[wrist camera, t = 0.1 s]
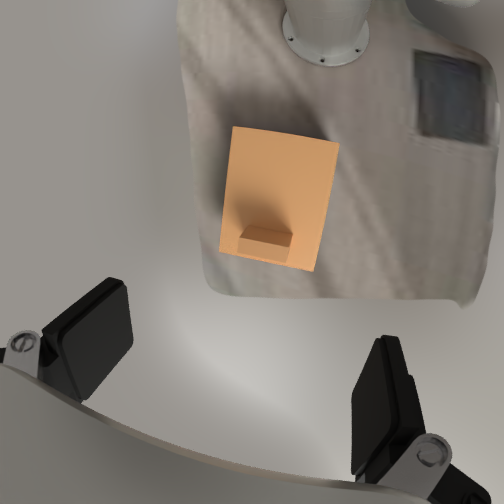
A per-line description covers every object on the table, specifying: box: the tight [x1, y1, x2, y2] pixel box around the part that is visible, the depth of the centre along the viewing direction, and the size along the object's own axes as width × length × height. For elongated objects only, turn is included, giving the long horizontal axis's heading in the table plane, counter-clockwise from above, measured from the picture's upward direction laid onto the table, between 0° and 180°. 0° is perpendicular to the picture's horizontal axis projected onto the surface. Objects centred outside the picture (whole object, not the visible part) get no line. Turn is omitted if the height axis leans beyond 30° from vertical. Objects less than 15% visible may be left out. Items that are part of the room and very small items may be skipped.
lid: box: [219, 126, 340, 272], centre depth 37 cm, size 17×13×7 cm
